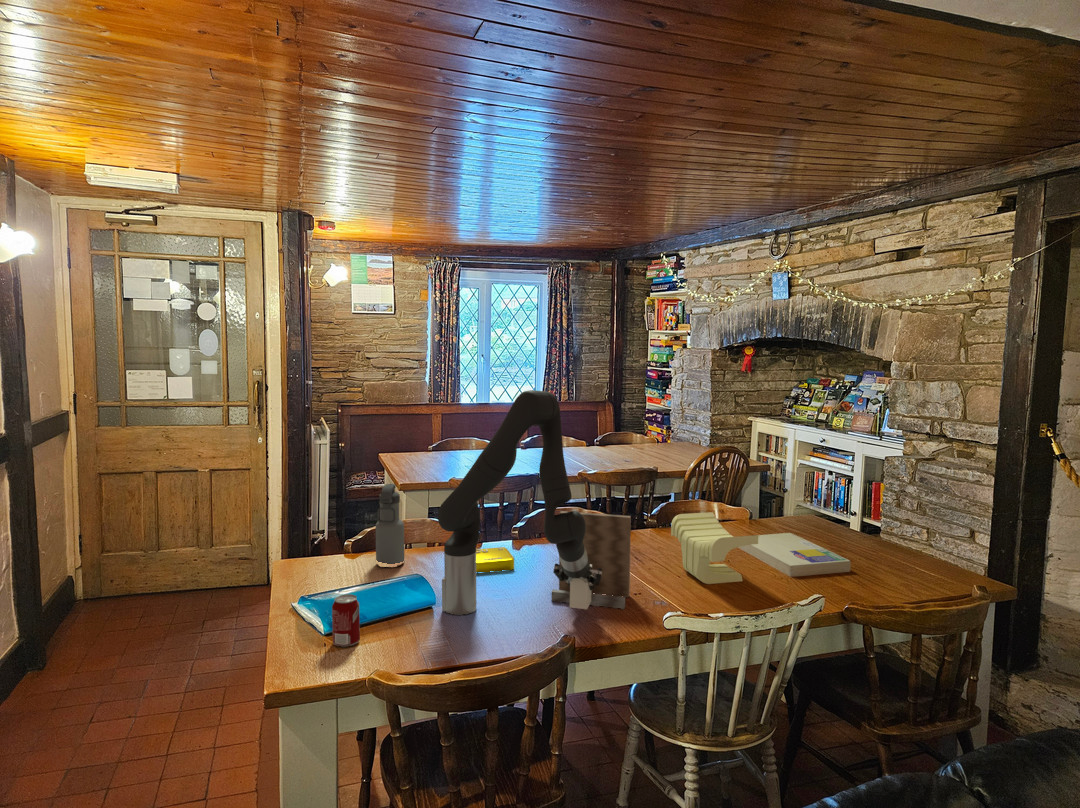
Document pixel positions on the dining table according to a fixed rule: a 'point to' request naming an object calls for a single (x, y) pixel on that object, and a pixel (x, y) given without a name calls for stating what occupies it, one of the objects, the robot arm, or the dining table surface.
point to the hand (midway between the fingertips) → (582, 586)
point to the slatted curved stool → (707, 546)
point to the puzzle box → (796, 555)
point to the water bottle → (389, 527)
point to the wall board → (605, 559)
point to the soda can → (345, 620)
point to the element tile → (494, 559)
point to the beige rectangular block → (579, 594)
